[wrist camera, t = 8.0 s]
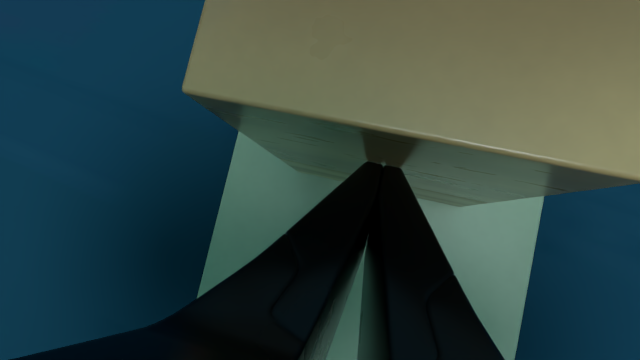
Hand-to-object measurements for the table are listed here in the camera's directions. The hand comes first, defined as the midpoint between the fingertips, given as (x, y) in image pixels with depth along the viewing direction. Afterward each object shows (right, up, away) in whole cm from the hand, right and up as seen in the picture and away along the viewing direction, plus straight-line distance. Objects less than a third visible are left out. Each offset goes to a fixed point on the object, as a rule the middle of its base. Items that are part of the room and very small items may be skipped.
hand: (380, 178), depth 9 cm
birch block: (+2, +5, +7) cm, 9 cm away
